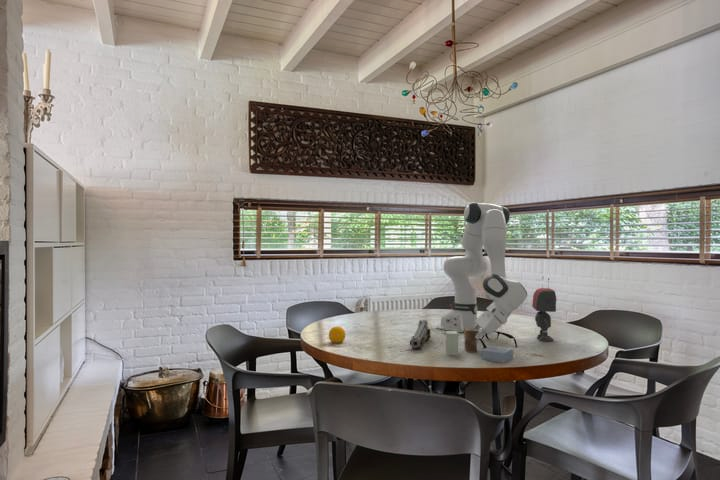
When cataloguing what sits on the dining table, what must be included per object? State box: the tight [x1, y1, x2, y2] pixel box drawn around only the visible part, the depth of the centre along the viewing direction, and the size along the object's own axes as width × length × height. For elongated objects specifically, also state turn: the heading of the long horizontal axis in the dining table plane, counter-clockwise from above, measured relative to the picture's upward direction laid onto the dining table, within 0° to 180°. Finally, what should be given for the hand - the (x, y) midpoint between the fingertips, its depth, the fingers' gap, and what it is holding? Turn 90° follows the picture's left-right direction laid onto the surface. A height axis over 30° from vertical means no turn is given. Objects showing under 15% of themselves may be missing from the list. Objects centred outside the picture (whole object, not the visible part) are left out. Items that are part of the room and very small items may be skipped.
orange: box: [328, 326, 347, 344], centre depth 211 cm, size 8×8×8 cm
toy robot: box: [531, 277, 557, 343], centre depth 216 cm, size 22×9×30 cm, turn 168°
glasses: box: [477, 330, 518, 349], centre depth 208 cm, size 17×18×5 cm
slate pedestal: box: [481, 345, 514, 364], centre depth 183 cm, size 9×9×4 cm
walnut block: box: [464, 329, 478, 353], centre depth 196 cm, size 4×4×9 cm
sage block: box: [445, 330, 459, 356], centre depth 190 cm, size 4×4×9 cm
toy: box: [409, 319, 431, 350], centre depth 207 cm, size 6×24×10 cm, turn 162°
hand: (473, 335), depth 196 cm, fingers open, 8 cm apart
